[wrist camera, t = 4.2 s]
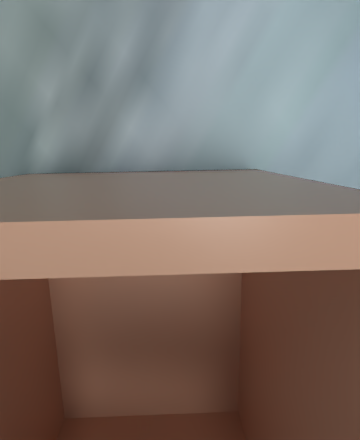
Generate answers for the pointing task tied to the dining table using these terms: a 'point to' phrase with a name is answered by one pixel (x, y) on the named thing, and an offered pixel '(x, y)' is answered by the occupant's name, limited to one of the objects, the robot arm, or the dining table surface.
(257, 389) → the small crate
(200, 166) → the dining table surface
